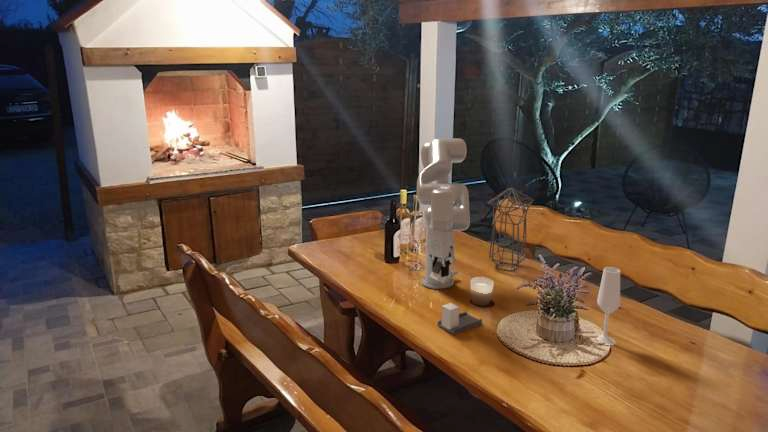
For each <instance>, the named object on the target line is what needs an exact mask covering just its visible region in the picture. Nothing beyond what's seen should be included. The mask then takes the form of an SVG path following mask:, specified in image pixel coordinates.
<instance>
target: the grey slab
mask: <svg viewBox="0 0 768 432" xmlns="http://www.w3.org/2000/svg"><path fill="white" fill-rule="evenodd" d="M441 324H442V319H441V320H438V321H437V327H439V328H440V329H442V330H444V331H446V332H449V334H452V335H453V336H454V335H457V334H459V333H462V332H464V331H467V330H470V329H472V328H475V327H478V326H480V325H482V324H483V319H482V318H479V319H478V318H477V317H475V316H472V315H470V314H468V313H467V311H464V312H461V313H460V312H459V326H458V327H455V328H453V329H450V330H449V329H448V328H446V327H444V326H442V325H441Z"/></svg>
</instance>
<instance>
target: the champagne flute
mask: <svg viewBox="0 0 768 432" xmlns="http://www.w3.org/2000/svg"><path fill="white" fill-rule="evenodd" d="M599 285H600V287H599V290H598V295H597V300H596V303H597V307H599V309H601V311H602V312H604V322H603V323H604V324H603V333H602V334H600V335H597V336H598V337H597V338H596V339H597V340H598V341H599V342H602V343H608V344H610V345H611V346H615V345H616V343H617V342H616V340H614V339H613V338H612V337H610V336H609V335H608V329H609V319H610V314H611V313H612V314H613V312H616V311H617V310H618V309H619V308H620V305H621V270H620V269H619V268H616V267H611V266H606V267H604V268H603V271H602V277H601V281H600V284H599ZM611 346H610V347H611Z"/></svg>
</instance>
